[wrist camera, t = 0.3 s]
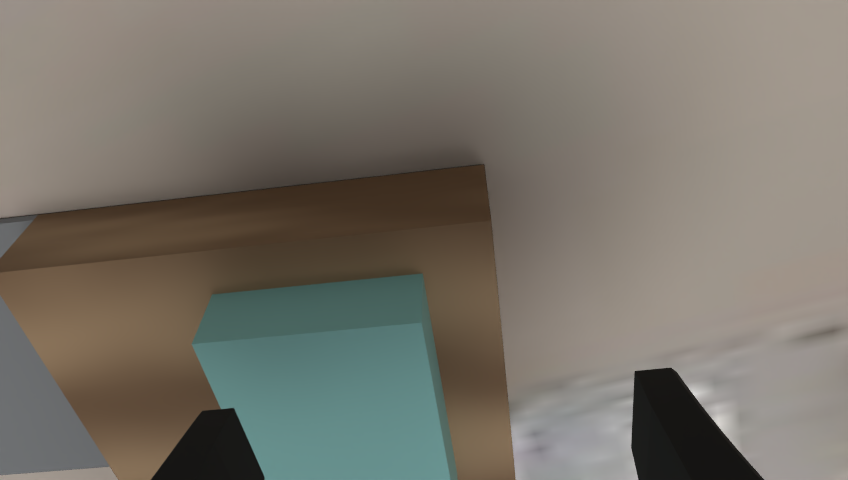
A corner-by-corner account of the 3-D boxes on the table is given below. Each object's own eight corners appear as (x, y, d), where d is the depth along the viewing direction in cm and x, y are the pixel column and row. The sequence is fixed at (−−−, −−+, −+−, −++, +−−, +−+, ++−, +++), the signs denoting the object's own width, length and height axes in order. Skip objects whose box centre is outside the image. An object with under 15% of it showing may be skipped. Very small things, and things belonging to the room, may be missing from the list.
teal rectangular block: (457, 474, 24) (459, 527, 22) (290, 487, 24) (280, 539, 23) (422, 273, 19) (421, 322, 17) (212, 294, 19) (191, 344, 18)
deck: (509, 429, 27) (516, 495, 24) (170, 455, 28) (145, 522, 26) (484, 164, 20) (491, 220, 18) (38, 214, 21) (-14, 273, 19)
